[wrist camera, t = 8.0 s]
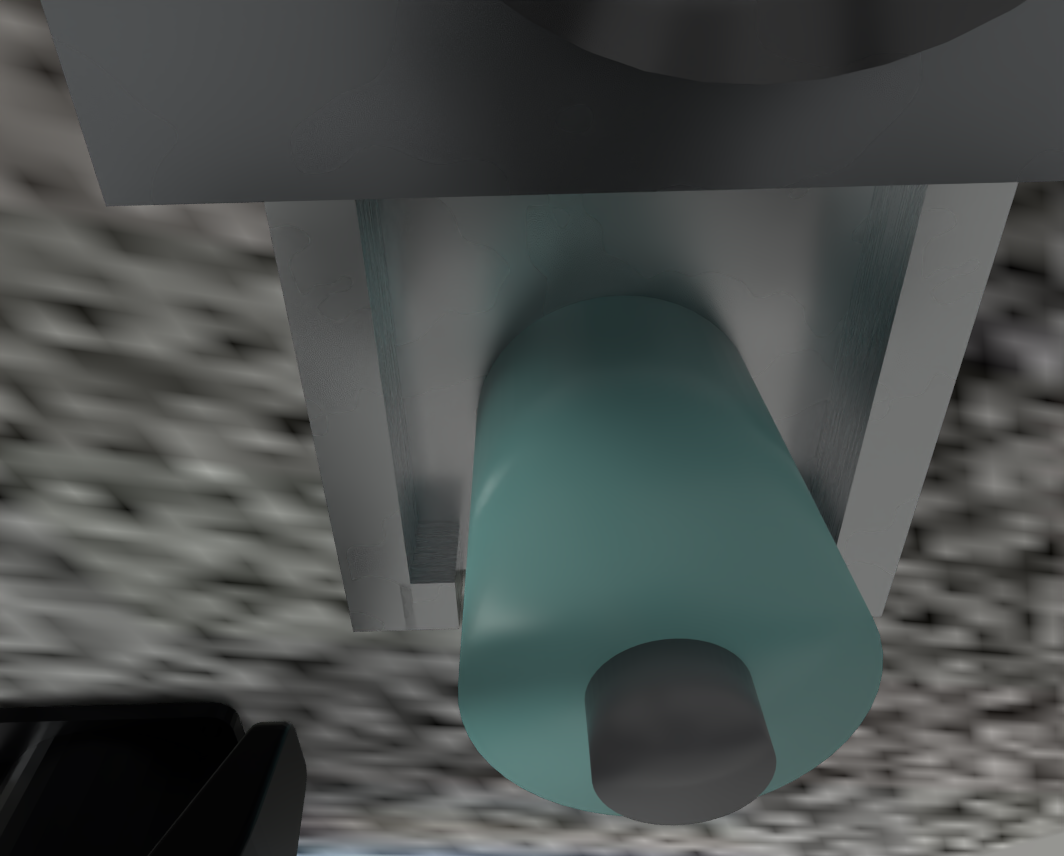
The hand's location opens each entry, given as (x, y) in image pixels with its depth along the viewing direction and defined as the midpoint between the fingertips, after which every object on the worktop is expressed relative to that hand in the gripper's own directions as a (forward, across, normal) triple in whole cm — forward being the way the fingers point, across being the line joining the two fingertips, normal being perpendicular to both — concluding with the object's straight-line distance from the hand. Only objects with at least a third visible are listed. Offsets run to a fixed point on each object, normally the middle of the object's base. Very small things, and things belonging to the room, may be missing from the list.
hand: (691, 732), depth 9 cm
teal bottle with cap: (+6, 0, 0) cm, 7 cm away
